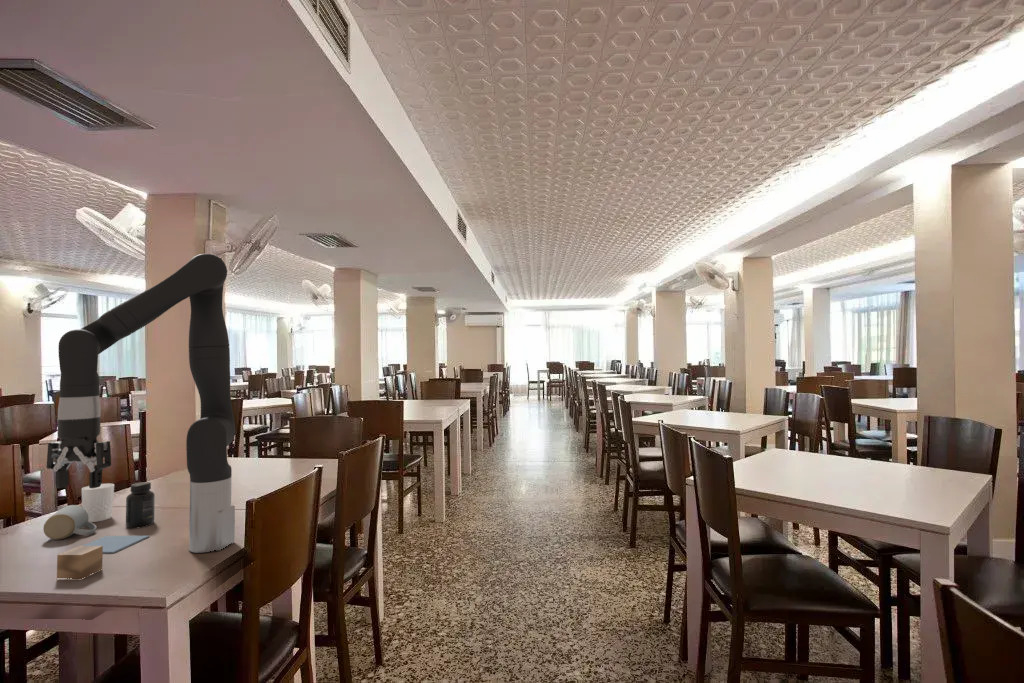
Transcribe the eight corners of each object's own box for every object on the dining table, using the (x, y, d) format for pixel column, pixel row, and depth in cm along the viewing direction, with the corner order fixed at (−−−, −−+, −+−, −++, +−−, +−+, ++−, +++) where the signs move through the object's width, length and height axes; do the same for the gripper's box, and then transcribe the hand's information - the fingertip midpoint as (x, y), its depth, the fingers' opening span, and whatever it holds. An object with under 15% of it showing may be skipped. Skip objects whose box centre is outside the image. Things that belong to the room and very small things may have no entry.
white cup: (99, 523, 152) (100, 489, 153) (73, 523, 152) (74, 489, 153) (120, 515, 160) (120, 483, 161) (95, 515, 160) (96, 483, 161)
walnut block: (102, 570, 116) (102, 545, 117) (81, 580, 111) (82, 554, 111) (78, 570, 116) (79, 546, 117) (56, 580, 111) (57, 555, 111)
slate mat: (149, 537, 139) (149, 535, 139) (113, 553, 127) (113, 551, 127) (106, 537, 139) (106, 535, 139) (66, 553, 127) (66, 552, 127)
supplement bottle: (154, 519, 155) (155, 480, 155) (153, 525, 149) (154, 484, 149) (126, 523, 151) (127, 483, 152) (124, 530, 145) (125, 487, 146)
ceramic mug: (40, 543, 135) (41, 513, 136) (55, 533, 143) (56, 505, 144) (89, 538, 139) (90, 509, 140) (101, 529, 147) (102, 502, 147)
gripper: (121, 414, 120) (120, 483, 119) (68, 415, 122) (67, 483, 121) (91, 417, 112) (90, 492, 112) (35, 418, 114) (34, 491, 114)
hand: (78, 487), depth 116 cm, fingers open, 8 cm apart
